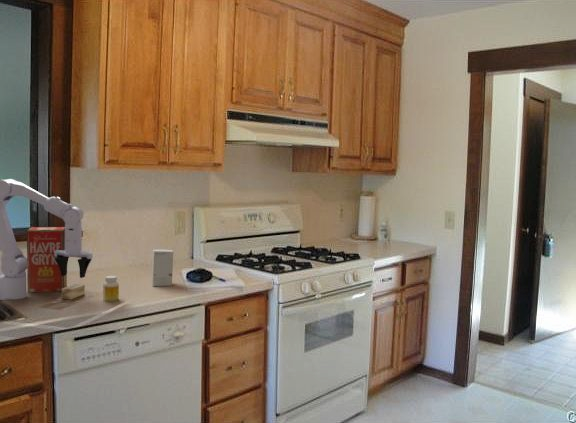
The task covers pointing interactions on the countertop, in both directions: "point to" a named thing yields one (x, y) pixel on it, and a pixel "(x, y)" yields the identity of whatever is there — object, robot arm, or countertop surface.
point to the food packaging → (44, 259)
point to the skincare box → (162, 267)
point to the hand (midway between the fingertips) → (73, 276)
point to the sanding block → (73, 292)
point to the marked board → (60, 302)
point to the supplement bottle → (111, 289)
